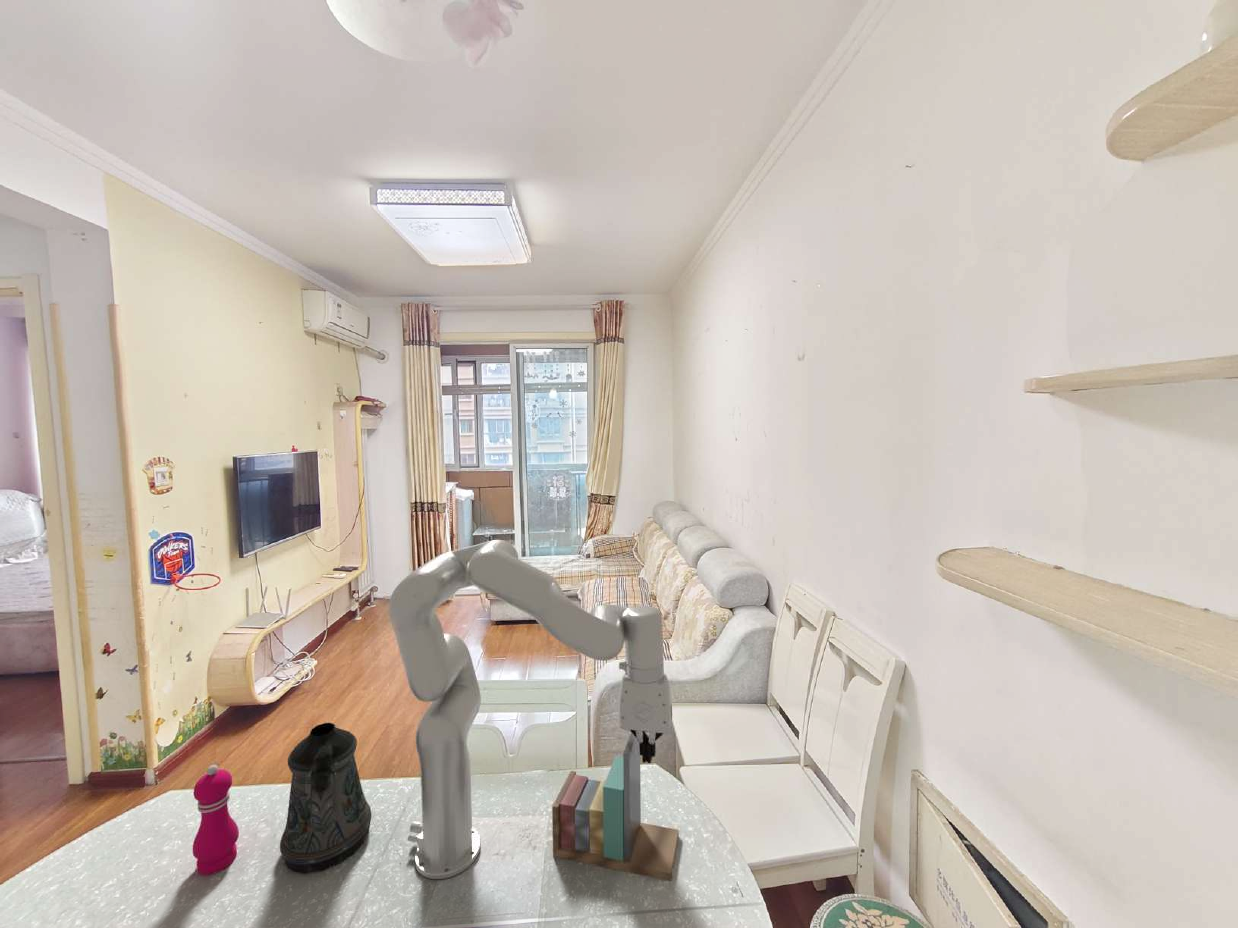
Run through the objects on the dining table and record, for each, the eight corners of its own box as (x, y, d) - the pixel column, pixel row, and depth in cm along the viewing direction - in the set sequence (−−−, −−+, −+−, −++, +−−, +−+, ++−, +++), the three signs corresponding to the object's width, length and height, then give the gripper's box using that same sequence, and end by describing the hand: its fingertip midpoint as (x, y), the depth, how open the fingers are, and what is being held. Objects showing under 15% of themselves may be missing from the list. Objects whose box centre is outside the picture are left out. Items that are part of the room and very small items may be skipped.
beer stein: (347, 802, 117) (343, 697, 116) (395, 839, 106) (391, 724, 105) (266, 850, 103) (260, 733, 102) (311, 899, 92) (305, 768, 91)
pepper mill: (185, 871, 98) (179, 773, 97) (224, 843, 105) (219, 751, 104) (209, 882, 96) (203, 781, 95) (248, 852, 103) (243, 758, 102)
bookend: (624, 859, 98) (623, 752, 97) (635, 821, 108) (634, 724, 107) (630, 861, 98) (629, 753, 97) (640, 822, 108) (640, 724, 106)
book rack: (553, 855, 101) (552, 806, 101) (571, 815, 112) (570, 770, 111) (670, 881, 95) (670, 828, 95) (678, 836, 106) (678, 788, 106)
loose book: (603, 856, 99) (603, 786, 98) (616, 819, 109) (616, 755, 108) (623, 861, 98) (622, 789, 97) (634, 822, 108) (634, 757, 107)
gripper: (603, 675, 98) (607, 765, 99) (679, 682, 95) (682, 775, 96) (613, 658, 106) (616, 742, 107) (684, 664, 102) (687, 751, 103)
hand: (647, 758), depth 101 cm, fingers closed
